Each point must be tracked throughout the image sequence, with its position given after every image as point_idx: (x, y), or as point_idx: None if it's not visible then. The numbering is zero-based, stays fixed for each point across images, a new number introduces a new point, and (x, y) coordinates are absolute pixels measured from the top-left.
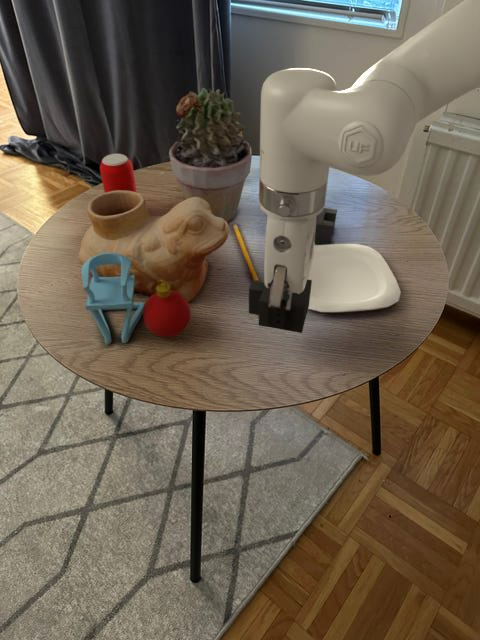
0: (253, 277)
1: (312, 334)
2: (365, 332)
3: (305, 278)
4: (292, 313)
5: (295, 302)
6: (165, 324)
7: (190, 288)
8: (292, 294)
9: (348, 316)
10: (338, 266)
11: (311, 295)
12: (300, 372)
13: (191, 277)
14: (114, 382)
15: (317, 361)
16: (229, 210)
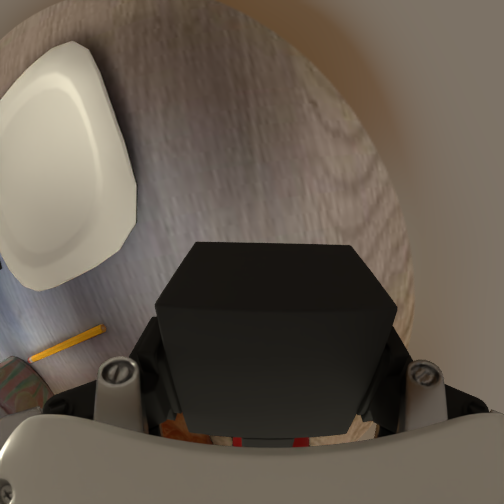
0: (97, 334)
1: (202, 189)
2: (162, 74)
3: (491, 479)
4: (396, 334)
5: (357, 350)
6: (307, 445)
7: (184, 419)
8: (416, 413)
9: (121, 122)
10: (14, 186)
11: (96, 221)
12: (330, 199)
13: (174, 432)
14: (367, 424)
15: (288, 165)
16: (20, 377)
